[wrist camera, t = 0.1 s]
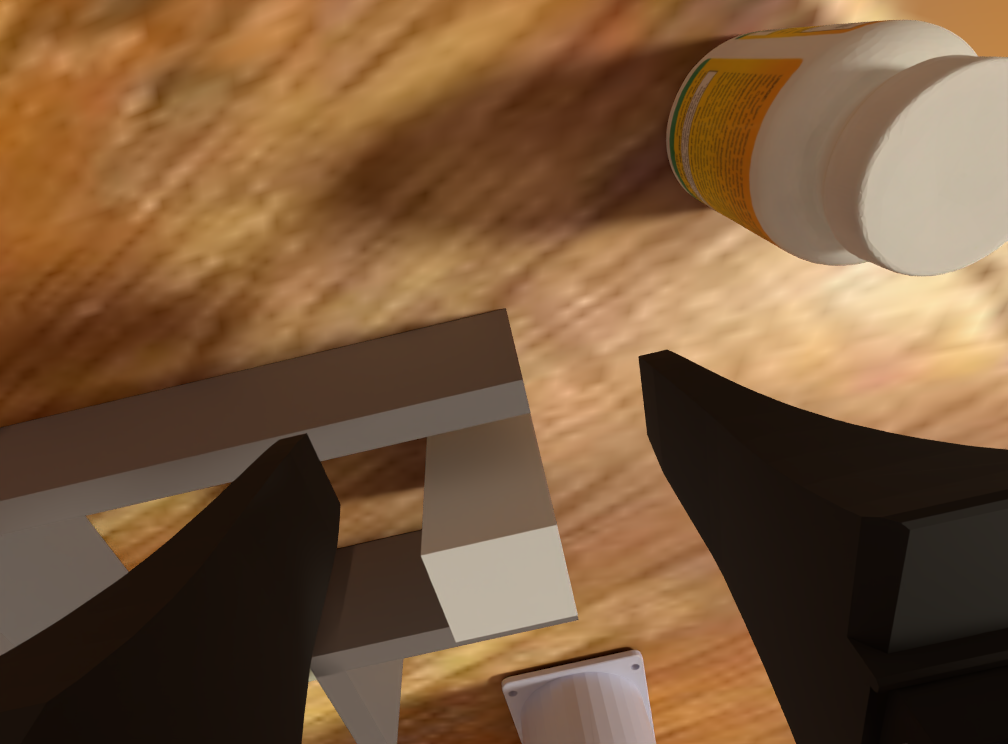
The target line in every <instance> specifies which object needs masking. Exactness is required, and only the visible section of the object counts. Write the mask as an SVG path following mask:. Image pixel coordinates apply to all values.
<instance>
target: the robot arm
mask: <svg viewBox="0 0 1008 744" xmlns="http://www.w3.org/2000/svg"><path fill="white" fill-rule="evenodd" d="M639 365H640V374H641V383H642V392H643V401H644V410H645V418H646V427H647V435H648V438H649V440H650V442H651V445H652V447H653V450H654V452H655V455H656V457H657V459H658V462H659V464H660V466H661V468H662V471H663V473H664V475H665V476H666V478H667V480H668V482H669V483H670V485H671V487H672V488H673V490H674V492H675V494H676V495H677V497H678V499H679V500H680V502H681V504H682V505H683V507H684V509H685V510H686V512H687V514H688V515H689V517H690V519H691V520H692V522H693V524H694V525H695V527H696V529H697V530H698V532H699V534H700V536H701V537H702V539H703V541H704V542H705V544H706V546H707V547H708V549H709V551H710V552H711V554H712V556H713V558H714V559H715V561H716V563H717V565H718V567H719V569H720V571H721V572H722V574H723V576H724V579H725V581H726V583H727V585H728V587H729V589H730V592H731V594H732V596H733V598H734V600H735V602H736V605H737V607H738V609H739V611H740V613H741V615H742V618H743V620H744V622H745V624H746V627H747V629H748V631H749V633H750V636H751V638H752V640H753V642H754V645H755V647H756V649H757V652H758V654H759V656H760V658H761V661H762V663H763V665H764V667H765V670H766V672H767V675H768V677H769V679H770V682H771V684H772V686H773V689H774V691H775V694H776V696H777V698H778V701H779V703H780V705H781V708H782V710H783V713H784V715H785V717H786V720H787V722H788V724H789V727H790V729H791V732H792V734H793V737H794V739H795V742H796V744H1008V450H1006V449H995V448H985V447H975V446H967V445H960V444H953V443H947V442H940V441H934V440H927V439H921V438H915V437H910V436H905V435H899V434H894V433H889V432H885V431H880V430H876V429H872V428H867V427H863V426H859V425H854V424H850V423H846V422H843V421H839V420H835V419H832V418H828V417H825V416H822V415H819V414H815V413H812V412H809V411H806V410H803V409H799V408H797V407H794V406H791V405H788V404H785V403H782V402H780V401H777V400H775V399H772V398H770V397H767V396H765V395H762V394H760V393H757V392H755V391H753V390H750V389H748V388H746V387H743V386H741V385H739V384H737V383H735V382H732V381H730V380H728V379H726V378H724V377H722V376H720V375H718V374H716V373H714V372H712V371H710V370H708V369H706V368H704V367H702V366H700V365H698V364H696V363H694V362H692V361H690V360H688V359H686V358H684V357H682V356H680V355H678V354H676V353H674V352H671V351H669V350H663V351H659V352H655V353H650V354H646V355H642V356H639ZM339 521H340V502H339V500H338V498H337V496H336V494H335V492H334V490H333V488H332V485H331V483H330V481H329V479H328V477H327V475H326V473H325V471H324V468H323V466H322V464H321V462H320V460H319V458H318V456H317V453H316V451H315V449H314V447H313V445H312V443H311V441H310V439H309V436H308V434H307V433H305V434H301V435H296V436H292V437H288V438H283V439H279V440H278V441H277V442H275V443H274V444H273V445H272V446H270V447H269V448H268V449H267V450H266V451H265V452H264V453H263V454H261V455H260V456H259V457H258V458H257V459H256V460H255V461H254V462H253V463H252V464H251V465H250V466H249V467H248V468H247V469H246V470H245V471H244V472H243V473H242V474H241V475H240V476H238V477H237V478H236V479H235V480H234V481H233V482H232V483H231V484H230V485H229V486H228V487H227V488H226V489H225V490H224V491H223V492H222V493H221V494H220V495H219V496H218V497H217V498H216V499H215V500H213V501H212V502H211V503H210V504H209V505H208V506H207V507H206V508H205V509H204V510H202V511H201V512H200V513H199V514H198V515H197V516H196V517H195V518H194V519H192V520H191V521H190V522H189V523H188V524H187V525H186V526H185V527H184V528H182V529H181V530H180V531H179V532H178V533H177V534H176V535H175V536H173V537H172V538H171V539H170V540H169V541H168V542H166V543H165V544H164V545H163V546H162V547H160V548H159V549H158V550H157V551H155V552H154V553H153V554H152V555H150V556H149V557H148V558H147V559H145V560H144V561H143V562H141V563H140V564H139V565H137V566H136V567H135V568H134V569H132V570H131V571H130V572H128V573H127V574H126V575H124V576H123V577H122V578H120V579H119V580H118V581H116V582H115V583H113V584H112V585H110V586H109V587H108V588H106V589H105V590H103V591H102V592H100V593H99V594H97V595H96V596H94V597H93V598H91V599H90V600H88V601H87V602H85V603H84V604H83V605H81V606H80V607H78V608H77V609H75V610H74V611H72V612H71V613H69V614H68V615H66V616H65V617H63V618H62V619H60V620H59V621H57V622H56V623H54V624H52V625H51V626H49V627H47V628H46V629H44V630H43V631H41V632H39V633H38V634H36V635H35V636H33V637H31V638H30V639H28V640H26V641H25V642H23V643H21V644H19V645H18V646H16V647H14V648H13V649H11V650H9V651H8V652H6V653H4V654H2V655H1V656H0V744H301V743H302V733H303V723H304V713H305V705H306V697H307V689H308V681H309V673H310V665H311V660H312V655H313V649H314V644H315V640H316V636H317V631H318V627H319V623H320V619H321V615H322V610H323V606H324V602H325V598H326V593H327V589H328V585H329V581H330V577H331V572H332V568H333V563H334V559H335V554H336V550H337V543H338V533H339ZM502 691H503V694H504V696H505V699H506V702H507V704H508V707H509V710H510V713H511V715H512V718H513V721H514V724H515V726H516V729H517V732H518V735H519V737H520V740H521V743H522V744H656V741H655V735H654V728H653V722H652V715H651V709H650V702H649V696H648V689H647V683H646V676H645V670H644V663H643V658H642V655H641V653H640V652H639V651H637V650H630V651H625V652H621V653H616V654H612V655H607V656H602V657H598V658H593V659H589V660H584V661H580V662H575V663H570V664H566V665H561V666H557V667H552V668H548V669H543V670H538V671H534V672H529V673H525V674H520V675H515V676H511V677H507V678H505V679H504V680H503V681H502Z"/></svg>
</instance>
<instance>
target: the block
mask: <svg viewBox="0 0 1008 744" xmlns="http://www.w3.org/2000/svg"><path fill="white" fill-rule="evenodd" d="M421 557H422V560H423V562H424V565H425V567H426V570H427V572H428V575H429V577H430V580H431V582H432V585H433V587H434V589H435V592H436V594H437V597H438V599H439V602H440V604H441V607H442V609H443V612H444V614H445V617H446V619H447V622H448V624H449V627H450V629H451V631H452V634H453V636H454V639H455V641H456V642H460V641H464V640H469V639H473V638H478V637H482V636H487V635H491V634H496V633H500V632H505V631H509V630H514V629H518V628H523V627H527V626H532V625H536V624H541V623H545V622H550V621H555V620H559V619H564V618H568V617H573V616H577V615H578V614H577V610H576V605H575V601H574V597H573V592H572V588H571V584H570V579H569V575H568V571H567V566H566V562H565V558H564V553H563V549H562V545H561V540H560V536H559V532H558V527H557V523H556V519H555V515H554V511H553V506H552V502H551V498H550V494H549V490H548V485H547V481H546V477H545V473H544V469H543V464H542V460H541V456H540V452H539V448H538V443H537V439H536V435H535V431H534V427H533V422H532V418H531V414H530V413H528V414H524V415H519V416H515V417H511V418H506V419H502V420H498V421H493V422H489V423H485V424H480V425H476V426H472V427H467V428H463V429H459V430H454V431H450V432H446V433H441V434H437V435H433V436H428V437H427V446H426V465H425V484H424V504H423V523H422V542H421Z"/></svg>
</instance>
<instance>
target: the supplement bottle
mask: <svg viewBox="0 0 1008 744" xmlns="http://www.w3.org/2000/svg"><path fill="white" fill-rule="evenodd" d="M666 146H667V154H668V159H669V163H670V166H671V168H672V171H673V173H674V175H675V177H676V179H677V180H678V182H679V183H680V185H681V186H682V187H683V188H684V189H685V190H686V191H687V192H688V193H689V194H690V195H692V196H693V197H694V198H696V199H697V200H699V201H700V202H702V203H703V204H705V205H707V206H709V207H710V208H712V209H713V210H715V211H717V212H719V213H721V214H722V215H724V216H726V217H728V218H729V219H731V220H733V221H735V222H736V223H738V224H740V225H741V226H743V227H745V228H746V229H748V230H750V231H752V232H753V233H755V234H757V235H758V236H760V237H762V238H764V239H766V240H767V241H769V242H771V243H772V244H774V245H776V246H778V247H779V248H781V249H783V250H784V251H786V252H788V253H790V254H792V255H794V256H796V257H798V258H801V259H803V260H806V261H809V262H813V263H817V264H824V265H832V266H841V265H854V264H861V263H865V262H871V263H874V264H876V265H878V266H881V267H883V268H886V269H888V270H891V271H893V272H896V273H900V274H905V275H909V276H935V275H941V274H945V273H949V272H953V271H956V270H959V269H962V268H965V267H967V266H969V265H971V264H973V263H975V262H977V261H979V260H981V259H982V258H984V257H986V256H988V255H989V254H991V253H992V252H994V251H995V250H997V249H998V248H999V247H1001V246H1002V245H1003V244H1004V243H1006V242H1007V241H1008V57H978V56H977V54H976V53H975V52H974V50H973V49H972V48H971V47H970V46H969V45H968V44H967V43H966V42H965V41H964V40H963V39H962V38H960V37H959V36H957V35H956V34H954V33H953V32H951V31H949V30H947V29H945V28H943V27H940V26H937V25H934V24H930V23H927V22H922V21H916V20H887V21H872V22H860V23H848V24H835V25H825V26H812V27H800V28H785V29H773V30H765V31H758V32H751V33H747V34H743V35H740V36H737V37H734V38H732V39H730V40H728V41H726V42H724V43H722V44H720V45H719V46H717V47H716V48H714V49H713V50H712V51H710V52H709V53H708V54H706V55H705V56H704V57H703V58H702V59H701V60H700V61H699V62H698V63H697V64H696V65H695V66H694V67H693V69H692V70H691V71H690V72H689V74H688V75H687V77H686V78H685V80H684V82H683V84H682V85H681V87H680V89H679V92H678V93H677V95H676V98H675V100H674V103H673V106H672V109H671V112H670V115H669V119H668V124H667V133H666Z"/></svg>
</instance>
